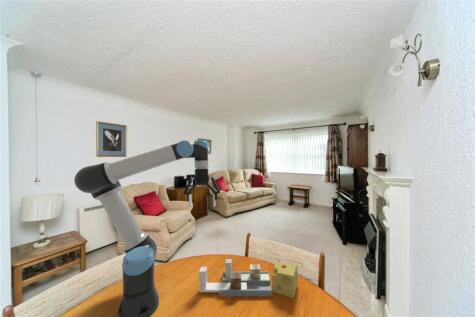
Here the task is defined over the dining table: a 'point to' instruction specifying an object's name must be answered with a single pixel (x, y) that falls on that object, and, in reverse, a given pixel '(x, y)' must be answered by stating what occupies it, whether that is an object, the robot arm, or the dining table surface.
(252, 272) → the maple block
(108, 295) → the dining table surface
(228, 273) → the strip rear
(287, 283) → the cheese
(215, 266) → the dining table surface
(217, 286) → the strip front
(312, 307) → the dining table surface
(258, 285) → the lane board
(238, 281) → the walnut block
